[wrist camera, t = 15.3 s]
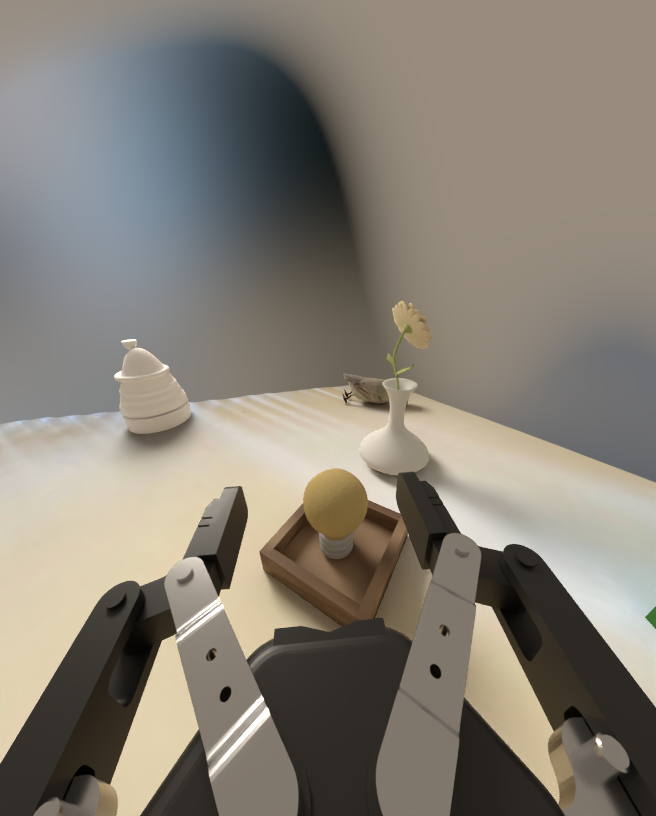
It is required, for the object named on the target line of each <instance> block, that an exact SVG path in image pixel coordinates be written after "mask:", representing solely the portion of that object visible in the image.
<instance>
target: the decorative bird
mask: <svg viewBox="0 0 656 816" xmlns="http://www.w3.org/2000/svg"><path fill="white" fill-rule="evenodd" d="M344 377H345V378H344V379H346V380H349V385H350V387H351V390H352V391H351V392H350V393H348V394H351V393H352V392H353V393H352V394H351V395H350V396H349V397H348V394H347V393H346V391H345V395H346V396H347V398H345V397H344V395H343V394H342V395H343V399H344V401H345V403H346V404H347V399H348V398H350V397H351V396H356V397H357V398H358V399H361V400H364V401H368V402H373V403H377V404H380V403H387V402H389V396H388V393H387V391H386V389H385V388H384V386H383V382H384V381H385V380H381V379H377V378H363V377H360V376H356V375H350V374H344ZM408 399H409V398H408ZM407 403H408V401H407ZM346 404H345V405H346ZM406 405H407V404H406Z"/></svg>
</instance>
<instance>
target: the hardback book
mask: <svg viewBox="0 0 656 816" xmlns="http://www.w3.org/2000/svg"><path fill="white" fill-rule="evenodd" d="M645 618H646V619H647V620H648V621H649V622H650V623H651V624H652V625H653V626H654V628H655V629H656V607H655V608H654V609H653V610H652V611H651V612H650V613H649V614H648V615H647V616H646V617H645Z"/></svg>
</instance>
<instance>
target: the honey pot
mask: <svg viewBox="0 0 656 816" xmlns="http://www.w3.org/2000/svg"><path fill="white" fill-rule="evenodd" d="M121 342H122V344H123V346H124V347H125V348H127V349H129V350H130V351H129V352H128V353H127V354H126V356H125V358H124V362H123V366H122V371H120V372H118V373H116V374H115V375H114V379H115V380H116V381H119V382H121V385H120V390H119V393H120V401H121V403H120V406H119V408H120V411H121V413H122V415H123V418H124V420H125V423H126V425H127V427H128V429H129V430H130V432H133V433H137V434H149V433H156V432H160V431H164V430H168V429H170V428H173V427H176V426H178V425H180V424H182V423H183V422H185V421H186V420H187V419H188V418H189V417H190V416H191V413H192V412H191V409H190V406H189V402H188V400H187V397H186V393H185V391H184V390H183V389H181V387H180V385H179V384H178V383H177V381H176V379H174V378H173V376H172V375H171V374H170V373H169V367H168V366H167V365H164V364H161V362H160V361H159V360H158V359H157V358H155V357H154V356H153V355H152V354H151V353H149V352H148V351H146V350H144V349H142V348H137V347H136V346H137V341H136V339H132V340H124V341H121Z"/></svg>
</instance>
